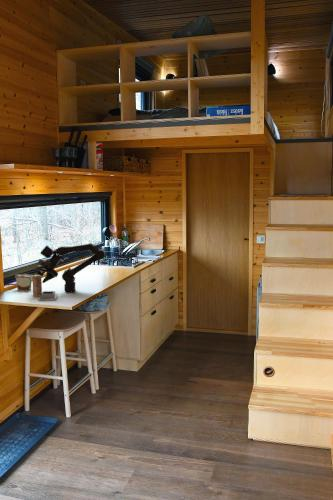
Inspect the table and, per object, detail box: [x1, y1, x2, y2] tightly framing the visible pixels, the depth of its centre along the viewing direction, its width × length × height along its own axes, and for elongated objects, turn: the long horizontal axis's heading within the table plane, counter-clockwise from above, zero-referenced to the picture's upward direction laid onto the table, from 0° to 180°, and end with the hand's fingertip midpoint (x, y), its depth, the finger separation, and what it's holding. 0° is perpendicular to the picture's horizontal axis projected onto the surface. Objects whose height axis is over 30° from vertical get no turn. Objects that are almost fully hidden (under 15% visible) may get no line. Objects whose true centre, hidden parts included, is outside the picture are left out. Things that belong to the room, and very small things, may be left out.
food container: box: [14, 273, 33, 292], centre depth 330 cm, size 12×6×10 cm, turn 71°
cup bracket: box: [38, 290, 59, 302], centre depth 305 cm, size 10×10×4 cm
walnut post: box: [31, 274, 43, 297], centre depth 312 cm, size 4×4×13 cm
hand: (38, 281), depth 313 cm, fingers open, 9 cm apart
